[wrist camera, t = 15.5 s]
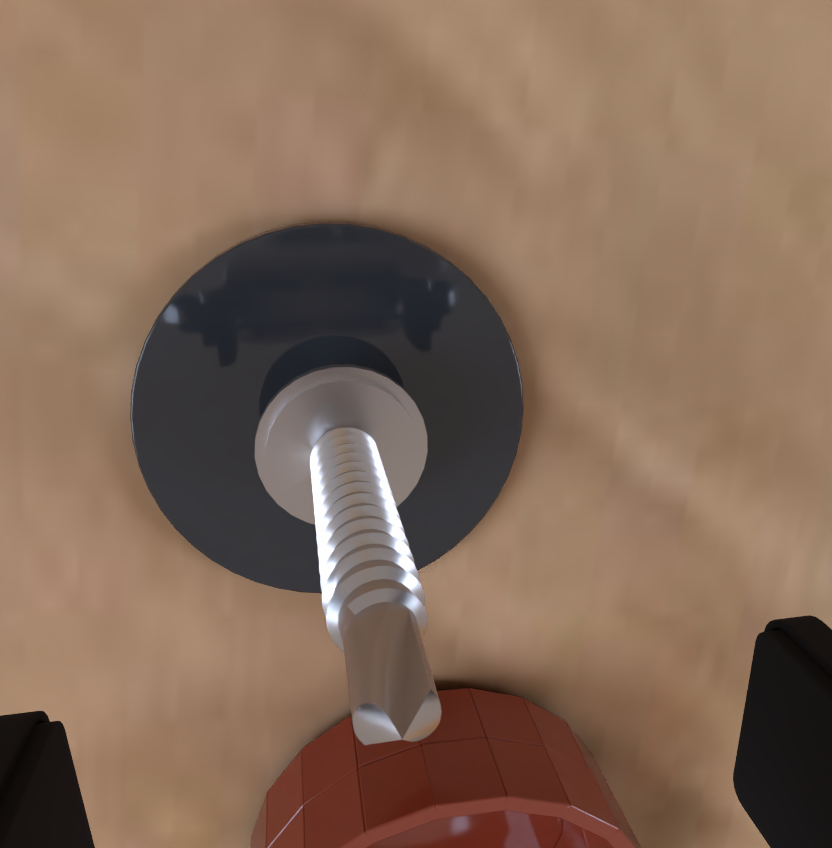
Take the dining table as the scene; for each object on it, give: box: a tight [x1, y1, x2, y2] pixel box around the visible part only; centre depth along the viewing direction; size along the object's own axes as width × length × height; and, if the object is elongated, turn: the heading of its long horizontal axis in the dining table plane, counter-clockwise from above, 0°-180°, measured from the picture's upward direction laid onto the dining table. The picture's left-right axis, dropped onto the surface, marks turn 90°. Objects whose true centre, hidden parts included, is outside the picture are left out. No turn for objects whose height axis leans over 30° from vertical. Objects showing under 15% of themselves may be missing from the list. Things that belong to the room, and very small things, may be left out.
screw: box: [255, 364, 441, 745], centre depth 16 cm, size 13×5×5 cm
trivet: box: [130, 222, 523, 593], centre depth 22 cm, size 12×12×1 cm
